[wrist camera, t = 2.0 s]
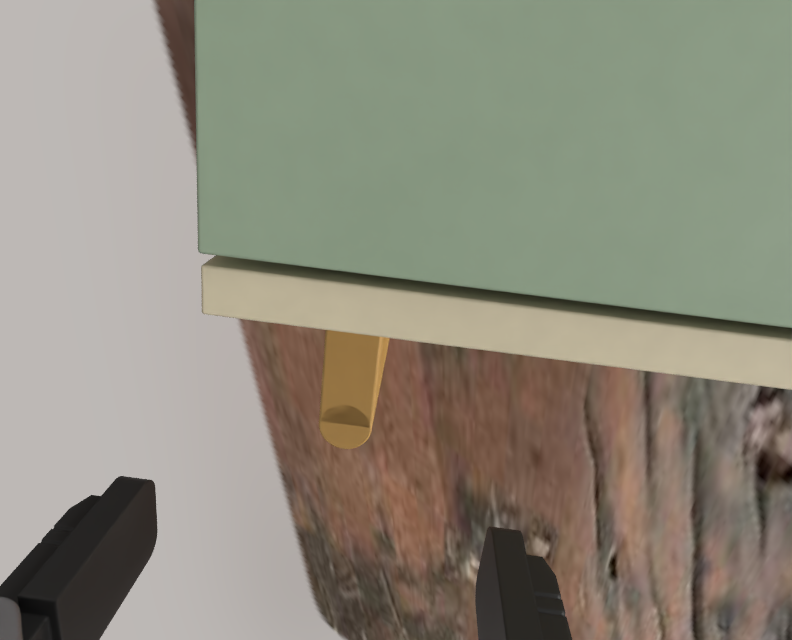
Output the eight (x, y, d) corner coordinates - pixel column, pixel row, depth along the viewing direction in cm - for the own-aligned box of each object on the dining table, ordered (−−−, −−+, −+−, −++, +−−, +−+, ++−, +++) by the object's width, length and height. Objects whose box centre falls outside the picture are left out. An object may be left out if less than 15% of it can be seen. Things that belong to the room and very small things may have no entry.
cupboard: (700, 199, 28) (1183, 378, 10) (349, 157, 29) (196, 254, 10) (787, -87, 24) (1930, -700, 6) (372, -133, 24) (178, -845, 6)
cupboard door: (661, 331, 31) (981, 657, 13) (338, 290, 31) (204, 549, 13) (700, 205, 28) (1164, 387, 10) (348, 162, 29) (199, 265, 11)
